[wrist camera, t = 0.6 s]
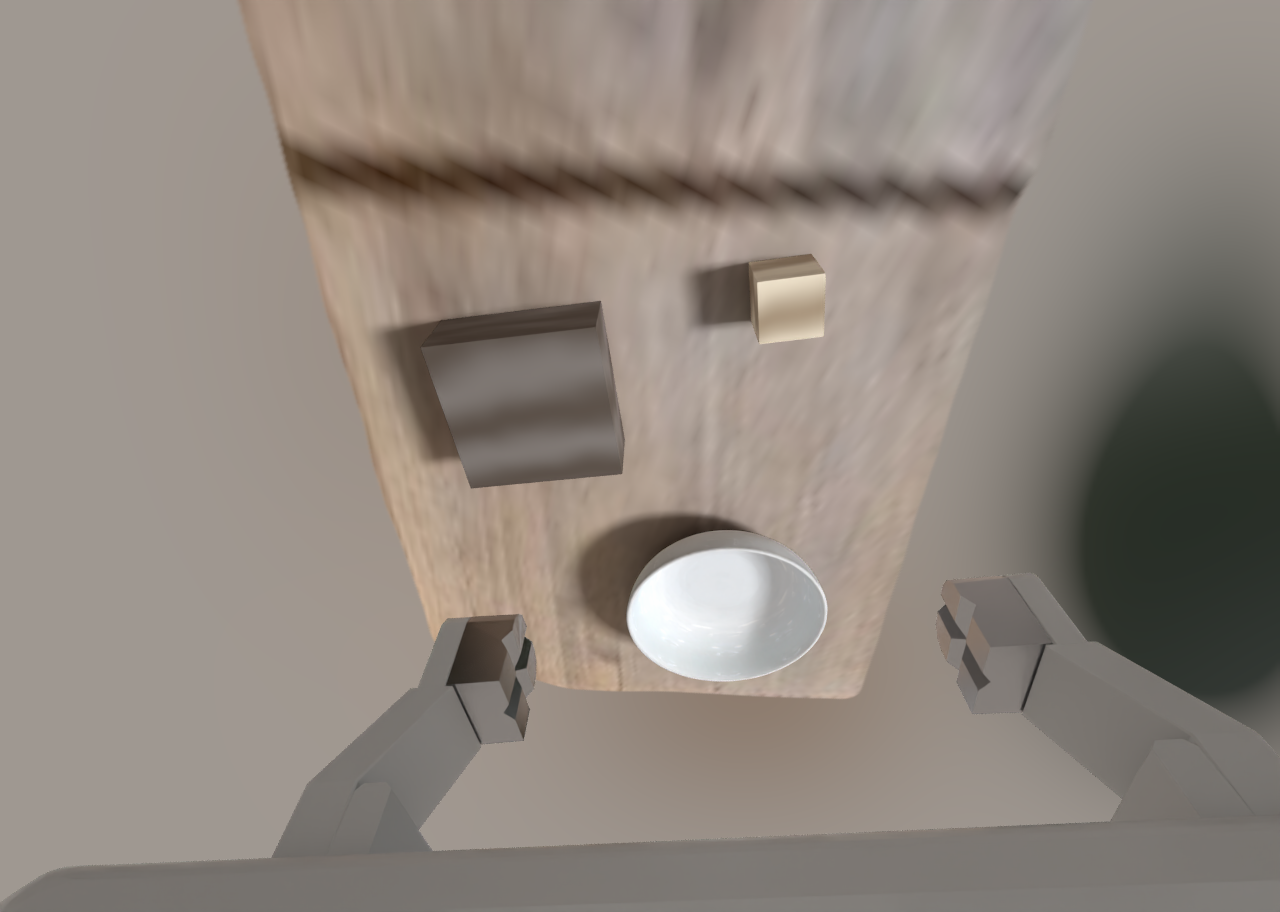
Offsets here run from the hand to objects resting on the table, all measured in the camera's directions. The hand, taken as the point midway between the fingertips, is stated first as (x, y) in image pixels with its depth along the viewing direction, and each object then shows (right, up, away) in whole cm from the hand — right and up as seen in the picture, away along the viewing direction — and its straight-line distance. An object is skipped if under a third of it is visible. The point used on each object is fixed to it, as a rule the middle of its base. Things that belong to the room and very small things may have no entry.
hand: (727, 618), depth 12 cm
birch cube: (+10, +17, +39) cm, 43 cm away
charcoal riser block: (-11, +10, +44) cm, 47 cm away
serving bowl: (+7, -10, +58) cm, 59 cm away
